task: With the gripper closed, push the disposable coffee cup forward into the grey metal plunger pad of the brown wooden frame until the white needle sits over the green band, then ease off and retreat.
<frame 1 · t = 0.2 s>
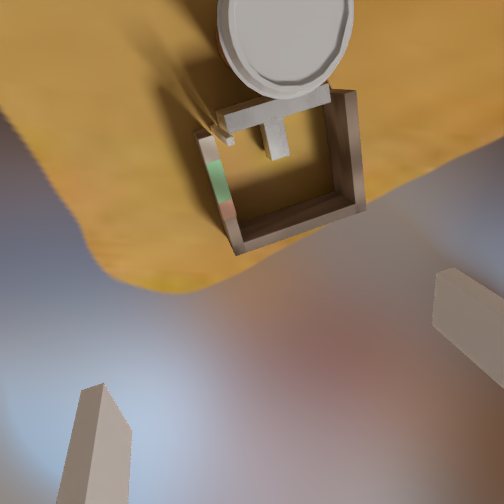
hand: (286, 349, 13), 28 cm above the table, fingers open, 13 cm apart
gauge plunger: (276, 133, 33), point 4 cm above the table, slide at 0.0 cm
disposable coffee cup: (248, 38, 33), on the table
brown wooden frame: (277, 173, 39), on the table
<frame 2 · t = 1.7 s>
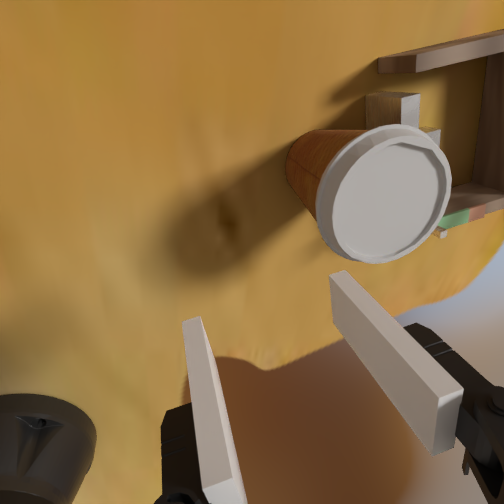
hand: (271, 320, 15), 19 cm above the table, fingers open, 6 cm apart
gauge plunger: (425, 157, 30), point 5 cm above the table, slide at 0.0 cm
disposable coffee cup: (315, 163, 33), on the table
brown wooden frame: (442, 130, 34), on the table
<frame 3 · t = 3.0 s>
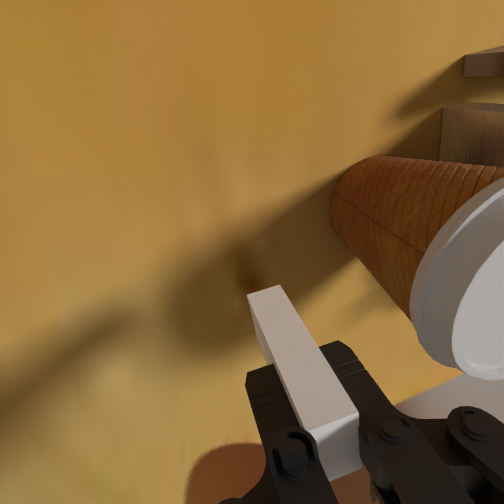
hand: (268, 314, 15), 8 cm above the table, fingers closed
disposable coffee cup: (369, 200, 24), on the table
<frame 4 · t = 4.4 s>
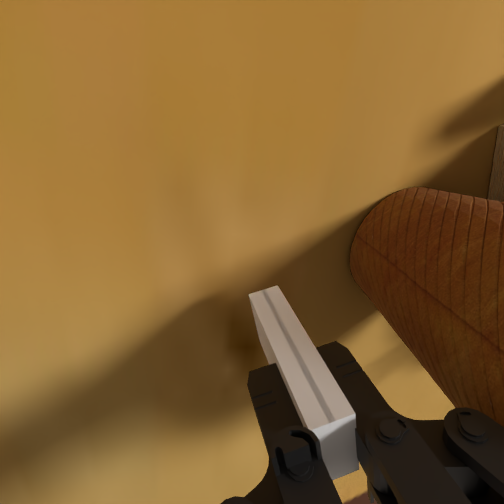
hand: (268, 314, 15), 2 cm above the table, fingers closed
disposable coffee cup: (398, 242, 19), on the table, touching hand
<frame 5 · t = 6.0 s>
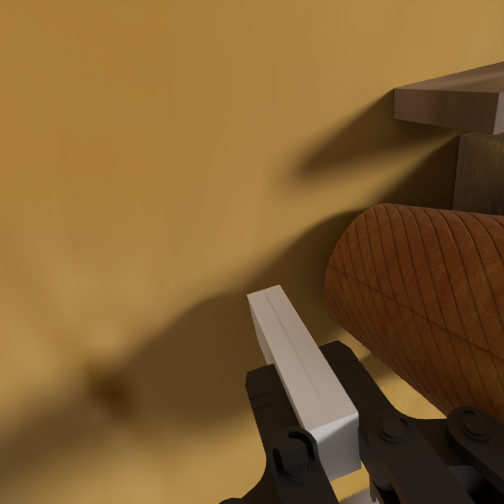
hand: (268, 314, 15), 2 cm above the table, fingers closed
disposable coffee cup: (365, 264, 17), point 1 cm above the table, touching gauge plunger, hand
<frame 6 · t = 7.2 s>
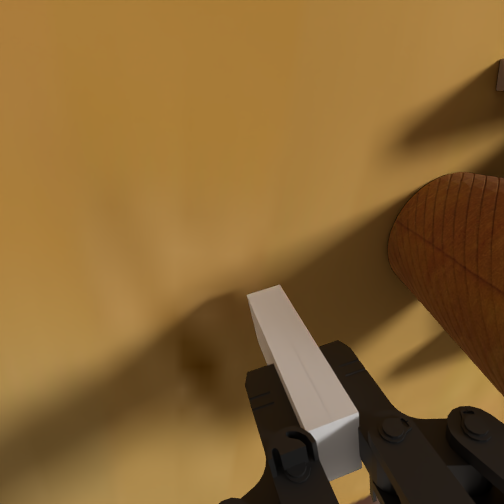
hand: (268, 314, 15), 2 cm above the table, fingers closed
disposable coffee cup: (438, 230, 18), on the table
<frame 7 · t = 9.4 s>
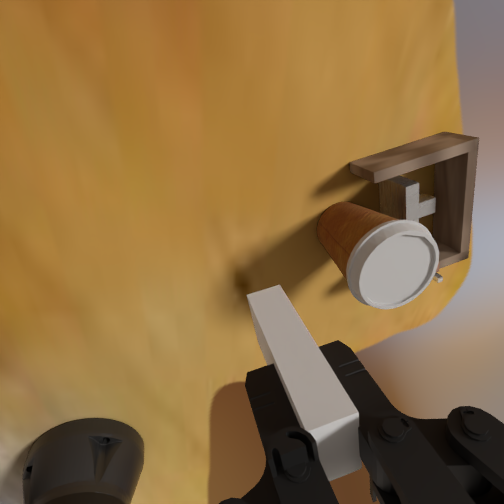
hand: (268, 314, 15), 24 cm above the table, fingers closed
gauge plunger: (424, 221, 41), point 5 cm above the table, slide at 4.8 cm
disposable coffee cup: (339, 225, 43), on the table
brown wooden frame: (404, 204, 44), on the table
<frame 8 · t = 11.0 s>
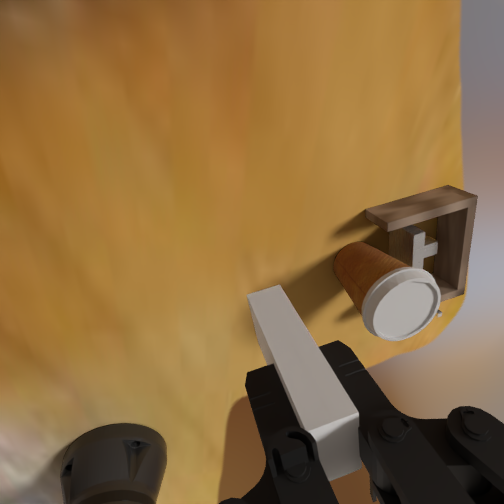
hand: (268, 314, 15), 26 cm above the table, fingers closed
gauge plunger: (428, 262, 47), point 4 cm above the table, slide at 4.8 cm
disposable coffee cup: (352, 260, 49), on the table
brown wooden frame: (410, 244, 50), on the table
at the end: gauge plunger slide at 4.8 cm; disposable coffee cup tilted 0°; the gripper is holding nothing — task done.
